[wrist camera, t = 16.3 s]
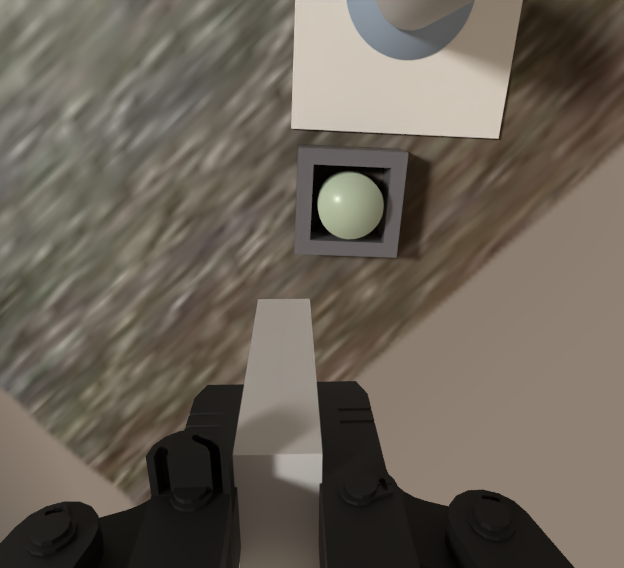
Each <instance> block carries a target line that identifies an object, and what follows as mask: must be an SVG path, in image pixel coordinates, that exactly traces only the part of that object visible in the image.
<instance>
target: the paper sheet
mask: <svg viewBox="0 0 624 568" xmlns="http://www.w3.org/2000/svg"><path fill="white" fill-rule="evenodd" d="M522 2H523V0H474V1H472V2H471V3H469V4H467V5H465V6H463V7H461V8H459V9H458V10H456V11H454V12H452V13H450V14H448V15H446V16H445V17H443V18H441V19H439V20H437V21H435V22H433V23H431V24H430V25H428V26H426V27H424V28H422V29H417V30H413V31H411V30H402V29H399V28H397V27H394V26H392V25H391V24H390V23H389V22H388V21H387V20H386V19H385V18H384V17H383V15H382V14H381V12H380V11H379V8H378V6H377V4H376V1H375V0H295V27H294V58H293V89H292V120H291V129H310V130H331V131H351V132H372V133H392V134H413V135H433V136H454V137H474V138H495V139H498V138H499V133H500V127H501V121H502V116H503V110H504V104H505V99H506V93H507V87H508V82H509V76H510V70H511V65H512V59H513V53H514V47H515V42H516V36H517V30H518V25H519V19H520V13H521V8H522Z"/></svg>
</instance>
